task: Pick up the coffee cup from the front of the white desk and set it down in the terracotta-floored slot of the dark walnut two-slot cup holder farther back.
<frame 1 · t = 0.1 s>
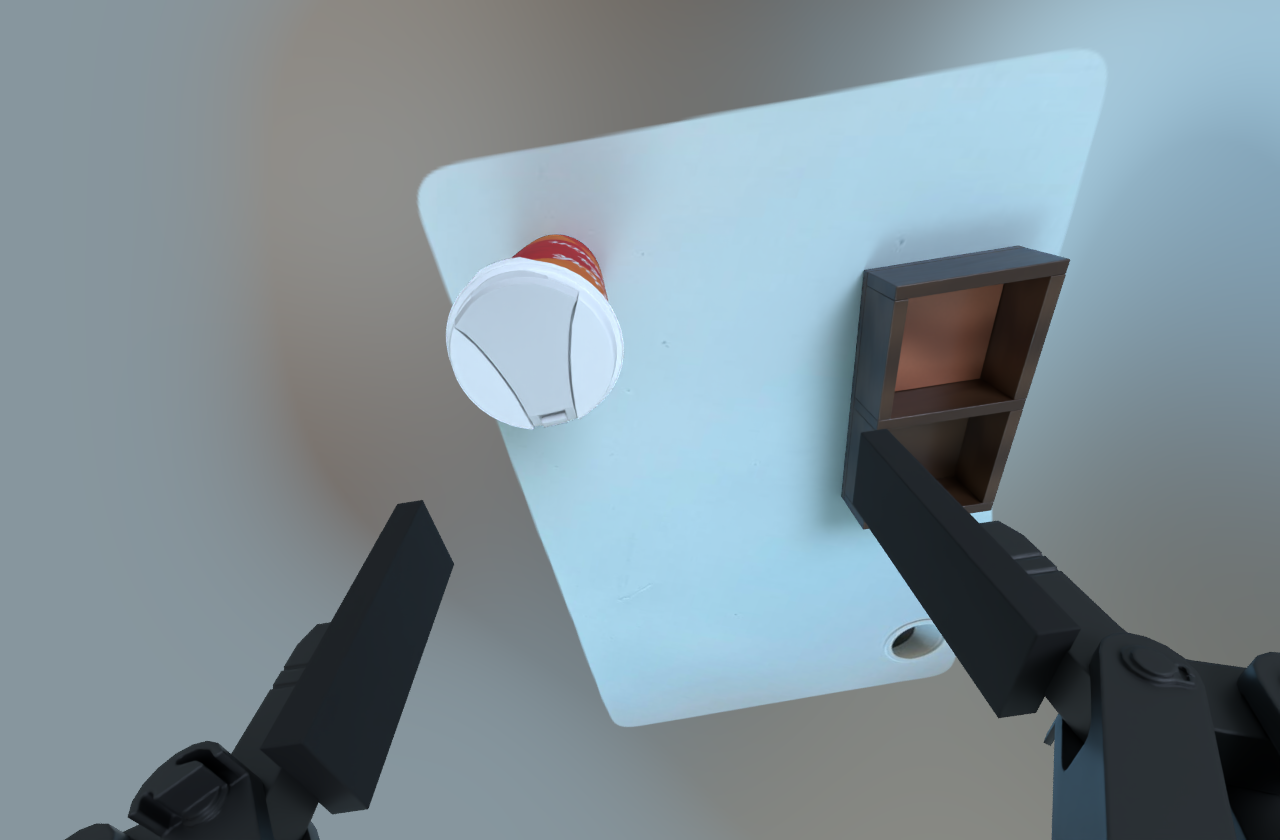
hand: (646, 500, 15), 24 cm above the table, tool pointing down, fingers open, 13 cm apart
coffee cup: (559, 276, 34), on the table
cup holder: (917, 388, 41), on the table
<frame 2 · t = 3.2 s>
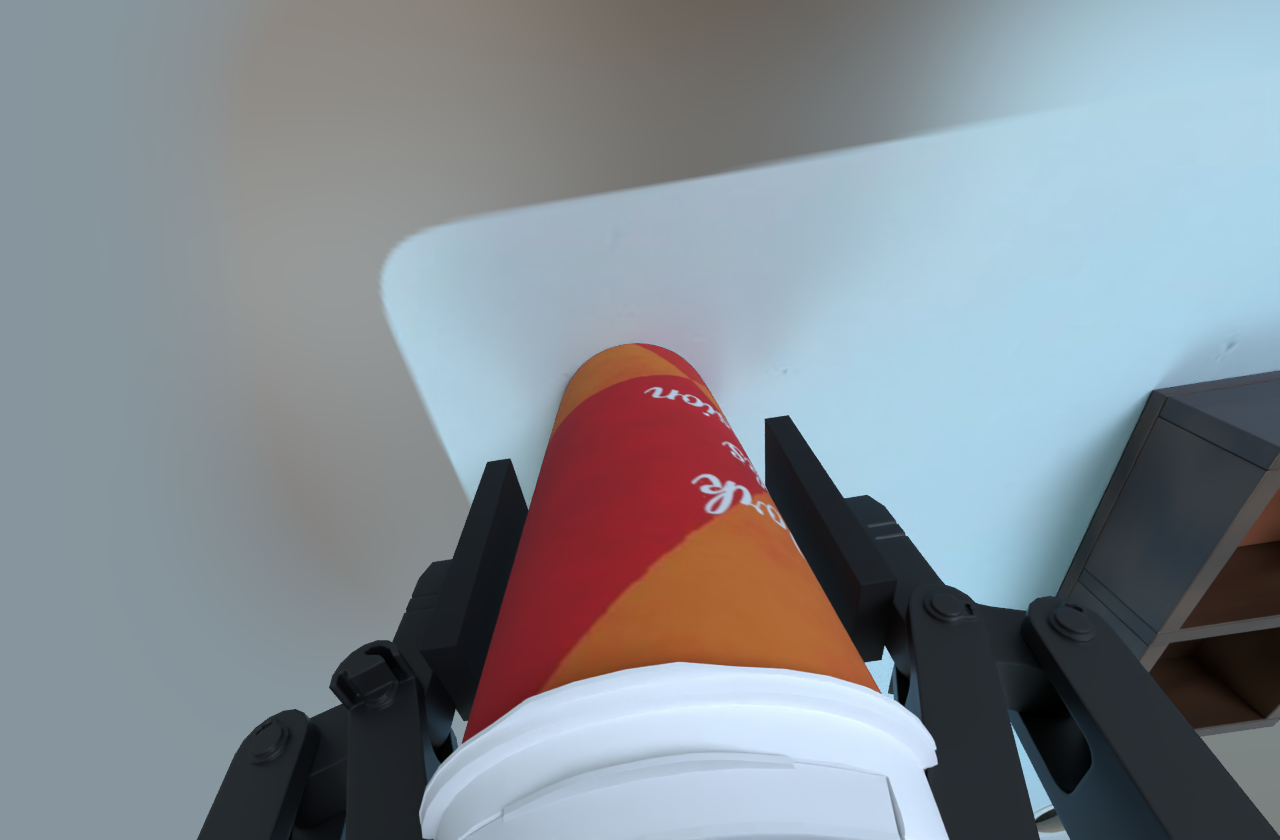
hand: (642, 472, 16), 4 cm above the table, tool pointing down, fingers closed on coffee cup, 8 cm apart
coffee cup: (635, 406, 20), on the table, touching gripper
cup holder: (1175, 549, 26), on the table
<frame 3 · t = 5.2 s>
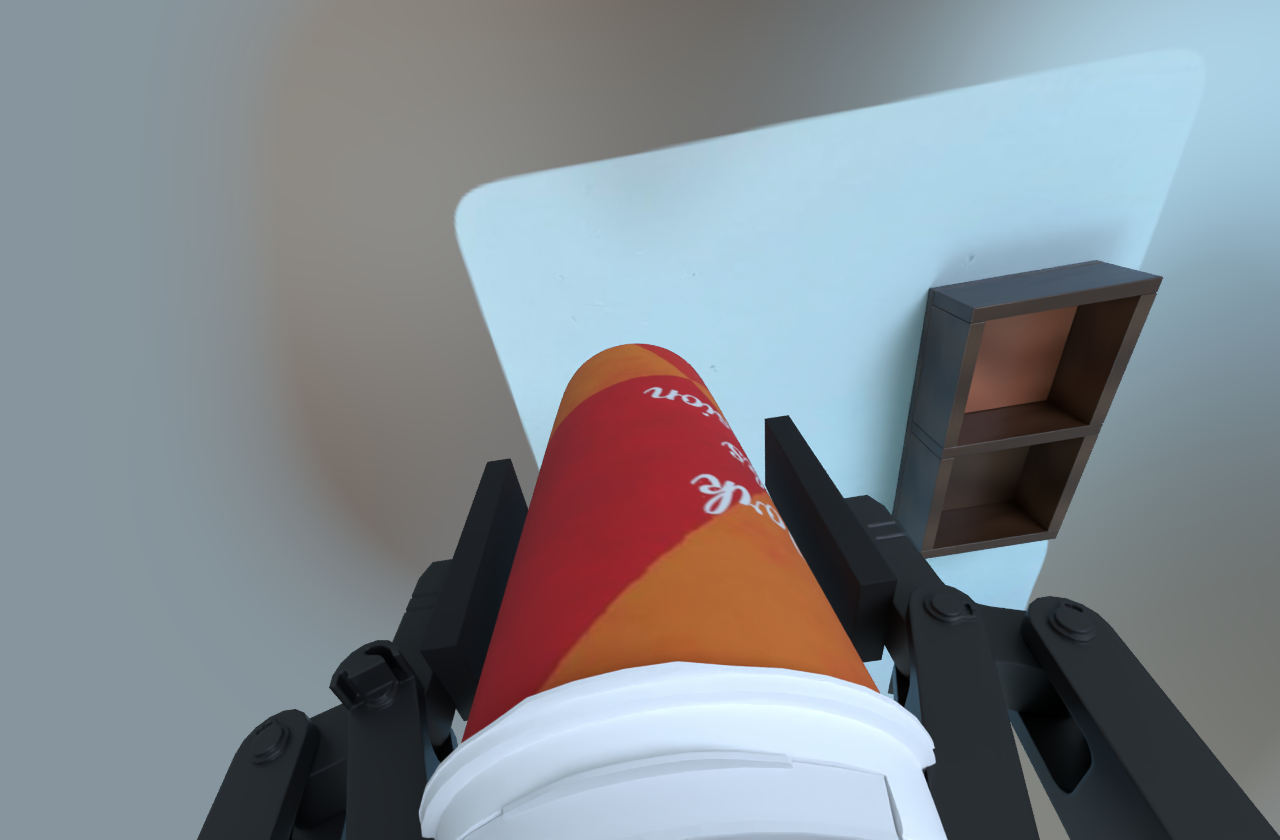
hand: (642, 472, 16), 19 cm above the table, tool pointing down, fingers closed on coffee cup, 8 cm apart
coffee cup: (634, 407, 20), point 14 cm above the table, touching gripper
cup holder: (978, 410, 38), on the table
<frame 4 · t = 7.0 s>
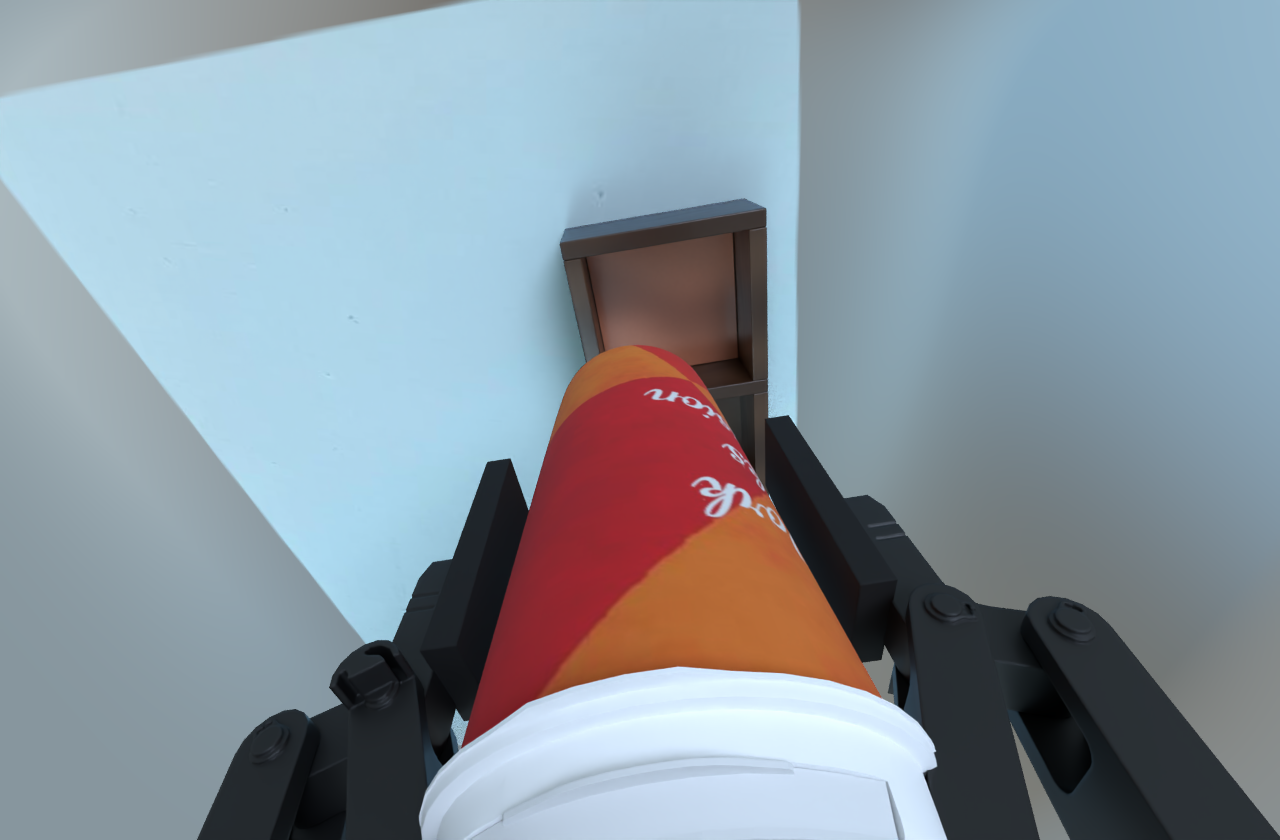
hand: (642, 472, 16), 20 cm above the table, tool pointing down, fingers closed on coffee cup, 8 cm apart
coffee cup: (634, 408, 20), point 15 cm above the table, touching gripper
cup holder: (673, 370, 36), on the table
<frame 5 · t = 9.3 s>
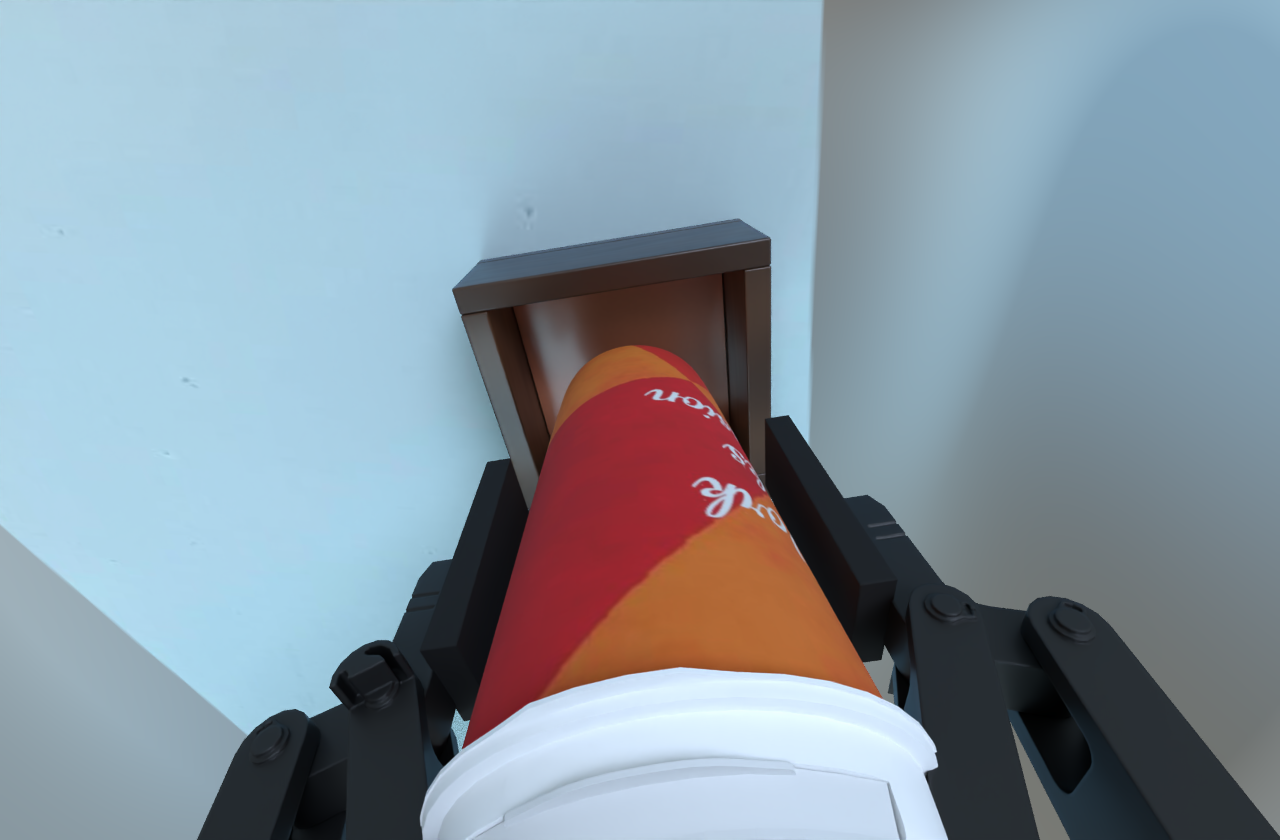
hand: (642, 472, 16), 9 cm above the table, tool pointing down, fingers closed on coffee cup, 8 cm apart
coffee cup: (635, 408, 20), point 5 cm above the table, touching gripper
cup holder: (643, 445, 26), on the table
when the fingers open (5 cm above the table, at t = 10.9 s): coffee cup stays where it is, resting on cup holder.
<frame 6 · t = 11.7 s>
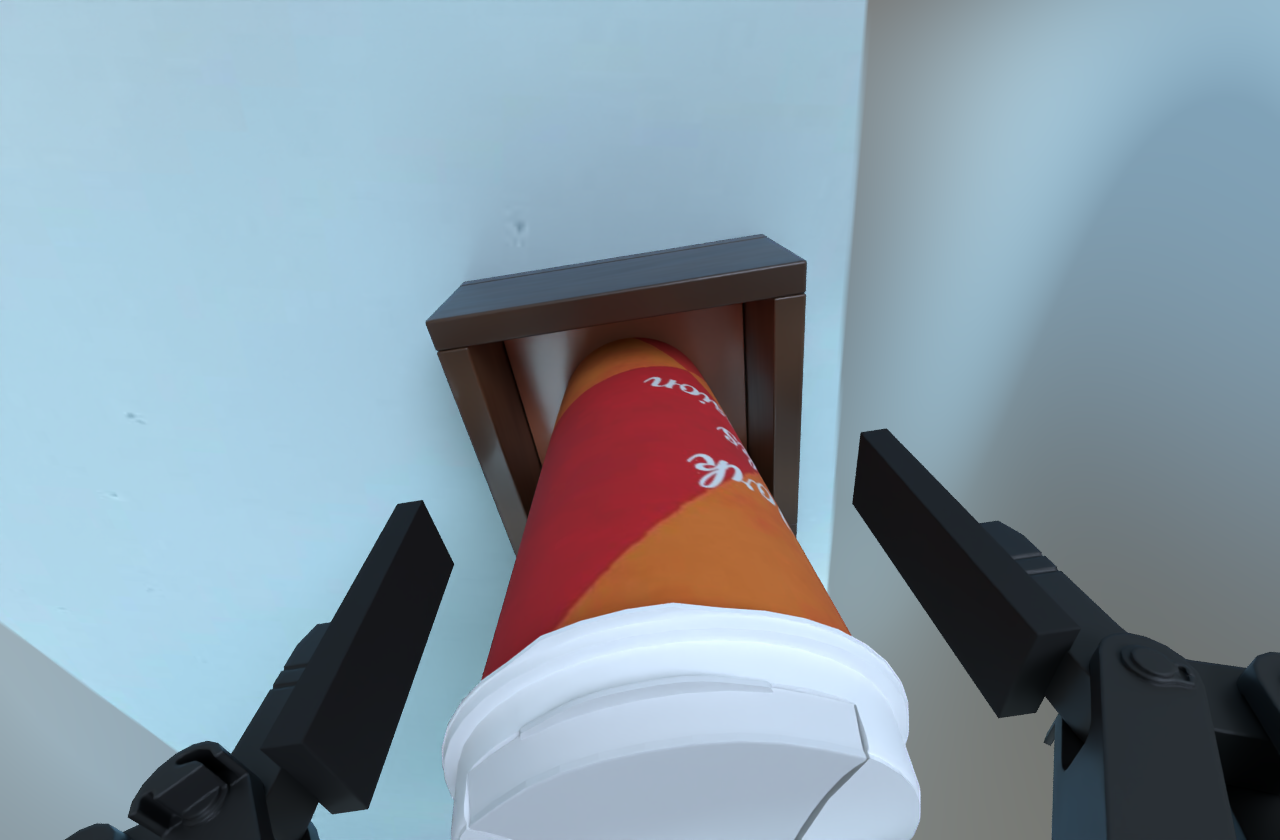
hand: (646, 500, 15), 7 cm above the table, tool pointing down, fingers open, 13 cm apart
coffee cup: (635, 398, 20), point 1 cm above the table, touching cup holder
cup holder: (649, 484, 24), on the table
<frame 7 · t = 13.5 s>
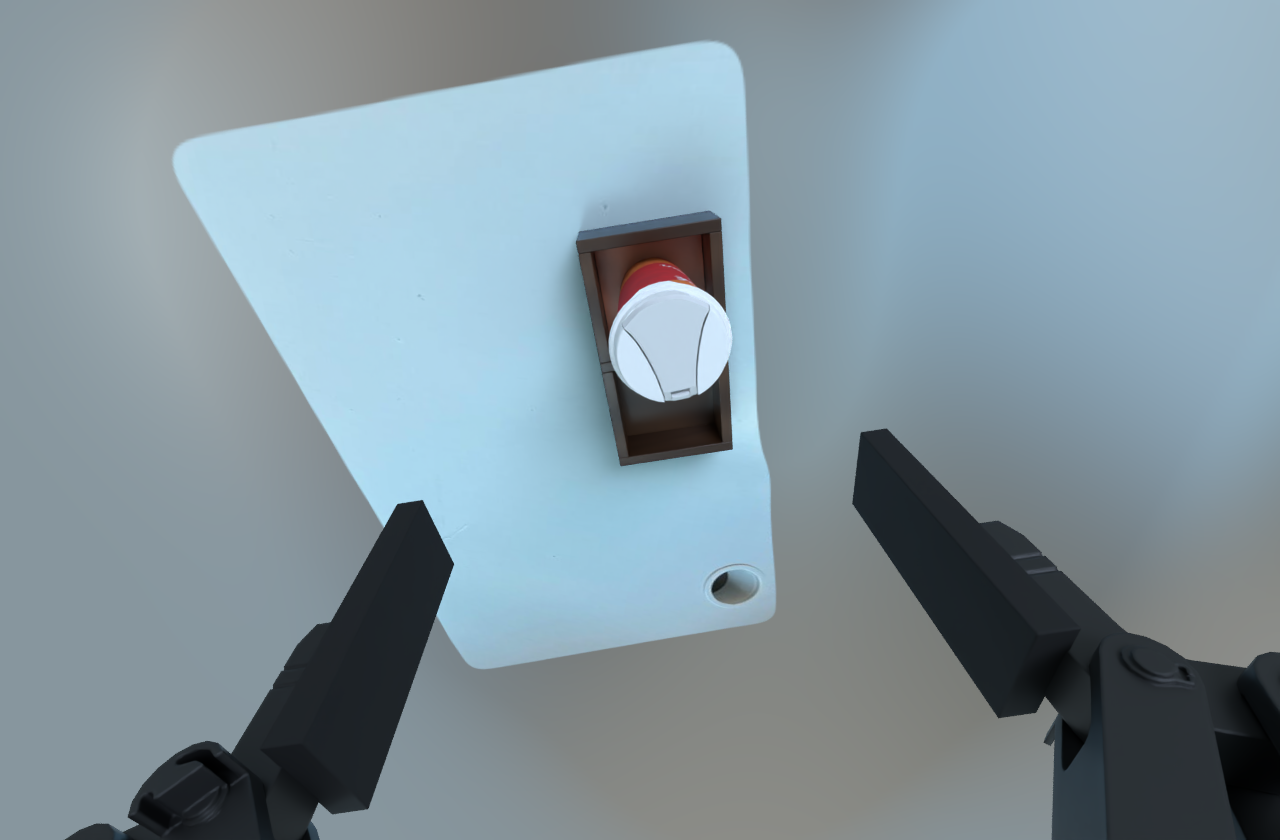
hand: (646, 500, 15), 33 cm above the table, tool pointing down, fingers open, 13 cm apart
coffee cup: (653, 289, 44), point 1 cm above the table, touching cup holder
cup holder: (659, 340, 47), on the table
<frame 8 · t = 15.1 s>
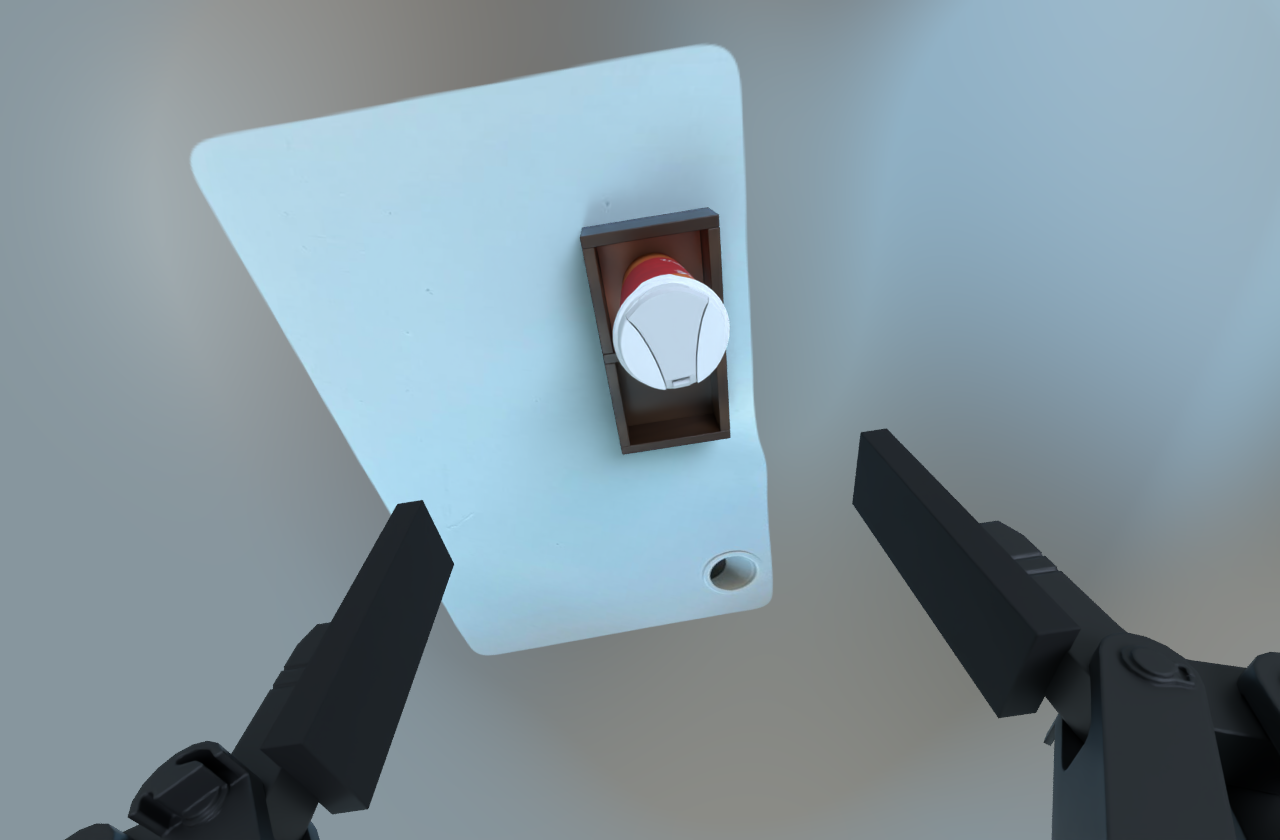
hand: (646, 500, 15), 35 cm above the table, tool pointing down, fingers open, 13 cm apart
coffee cup: (653, 283, 45), point 1 cm above the table, touching cup holder
cup holder: (659, 332, 48), on the table
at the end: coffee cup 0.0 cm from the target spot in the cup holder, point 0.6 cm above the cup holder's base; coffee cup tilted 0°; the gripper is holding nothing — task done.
